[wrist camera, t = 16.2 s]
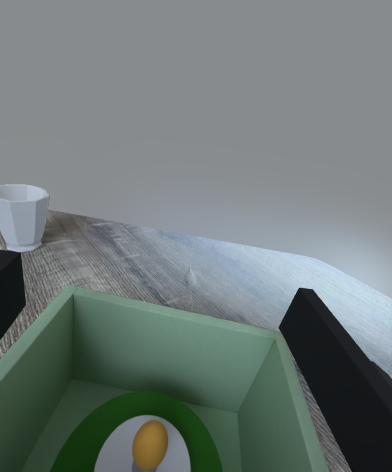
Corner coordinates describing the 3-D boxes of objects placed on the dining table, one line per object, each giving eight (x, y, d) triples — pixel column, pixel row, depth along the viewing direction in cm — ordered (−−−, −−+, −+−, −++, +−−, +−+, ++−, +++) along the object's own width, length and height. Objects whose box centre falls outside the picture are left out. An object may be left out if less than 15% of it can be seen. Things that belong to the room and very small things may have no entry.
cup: (-17, 256, 32) (-27, 197, 28) (11, 223, 40) (6, 174, 37) (45, 258, 34) (43, 204, 31) (60, 226, 42) (59, 181, 39)
